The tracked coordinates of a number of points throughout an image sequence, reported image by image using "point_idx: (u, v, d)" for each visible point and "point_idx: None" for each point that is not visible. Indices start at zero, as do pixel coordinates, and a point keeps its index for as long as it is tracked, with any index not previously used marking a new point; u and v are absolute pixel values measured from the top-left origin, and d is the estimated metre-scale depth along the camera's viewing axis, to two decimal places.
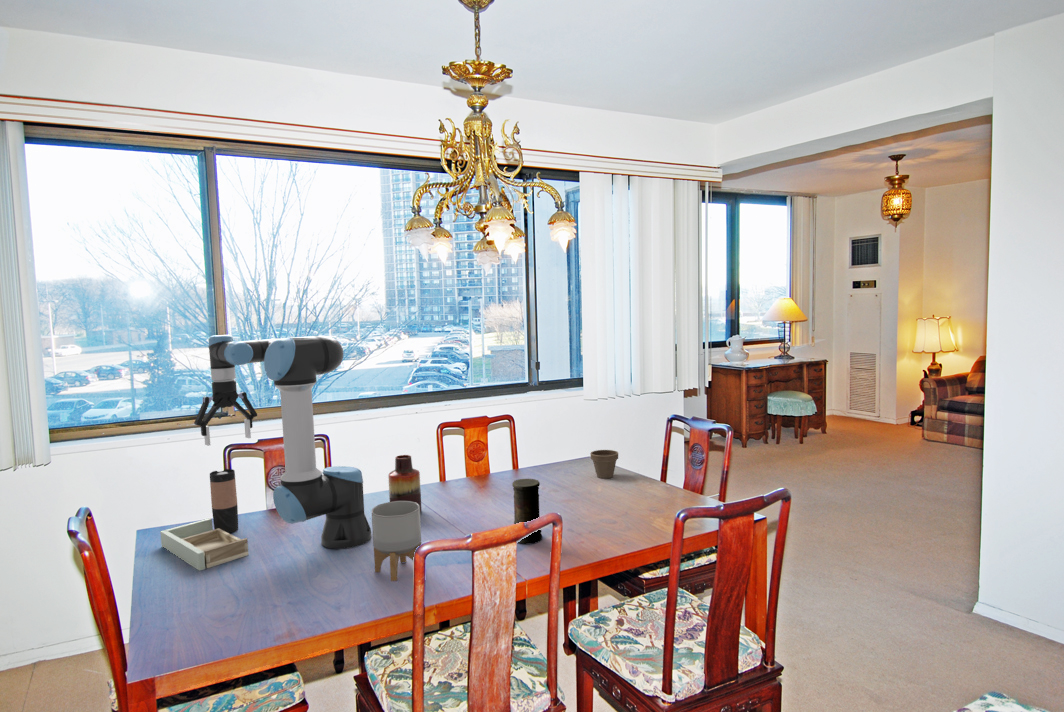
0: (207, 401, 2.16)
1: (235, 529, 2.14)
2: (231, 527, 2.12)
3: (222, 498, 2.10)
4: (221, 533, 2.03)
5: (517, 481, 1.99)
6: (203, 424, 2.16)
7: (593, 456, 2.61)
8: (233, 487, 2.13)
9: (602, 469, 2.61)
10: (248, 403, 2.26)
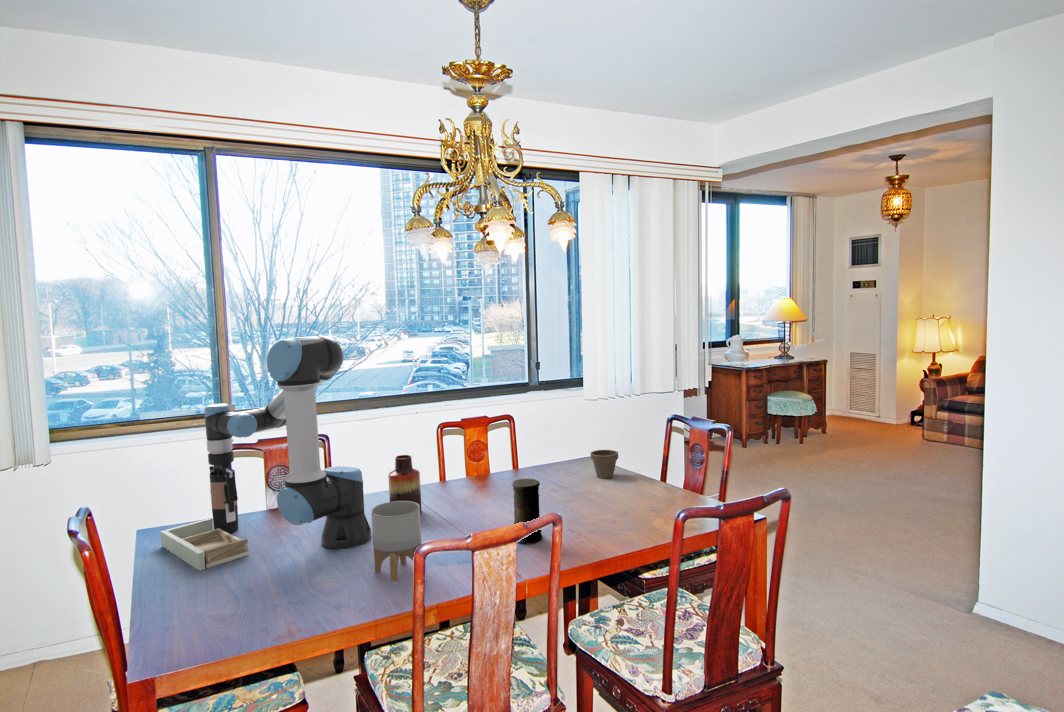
0: (210, 470, 2.16)
1: (235, 529, 2.14)
2: (231, 527, 2.12)
3: (222, 498, 2.10)
4: (221, 533, 2.03)
5: (517, 481, 1.99)
6: None
7: (593, 456, 2.61)
8: None
9: (602, 469, 2.61)
10: (227, 485, 2.08)
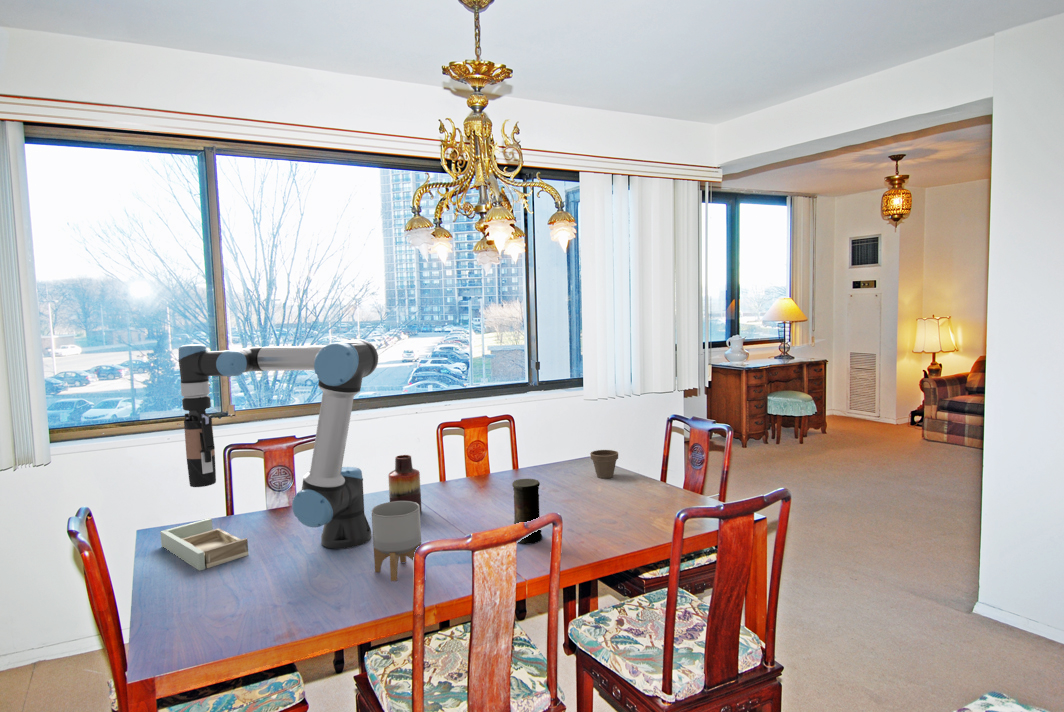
0: (186, 418, 1.98)
1: (212, 482, 1.96)
2: (207, 479, 1.94)
3: (198, 446, 1.92)
4: (221, 533, 2.03)
5: (517, 481, 1.99)
6: None
7: (593, 456, 2.61)
8: None
9: (602, 469, 2.61)
10: (202, 432, 1.90)
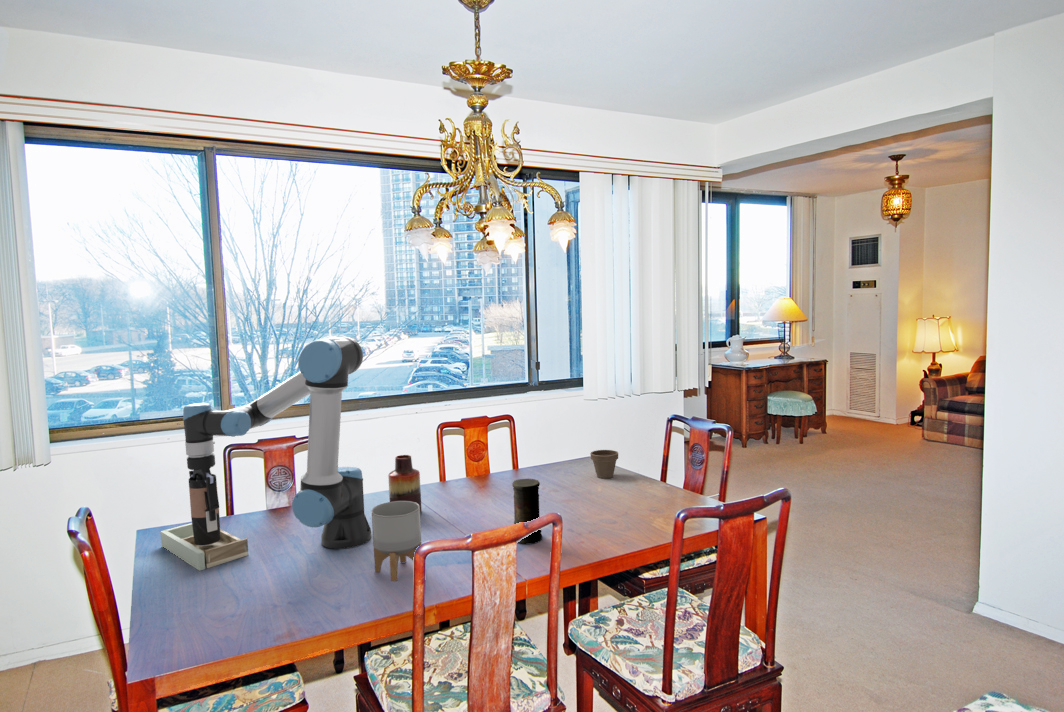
0: (190, 475, 1.99)
1: (217, 539, 1.97)
2: (212, 537, 1.96)
3: (202, 505, 1.93)
4: (221, 533, 2.03)
5: (517, 481, 1.99)
6: None
7: (593, 456, 2.61)
8: None
9: (602, 469, 2.61)
10: (207, 491, 1.92)
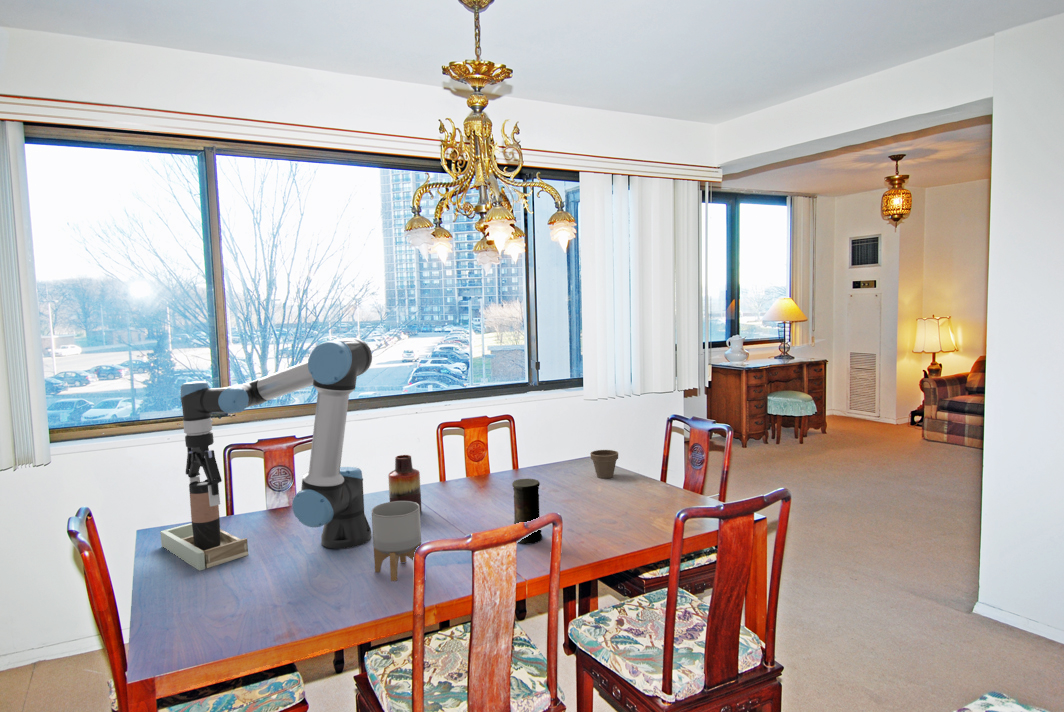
0: (188, 451, 1.99)
1: (217, 544, 1.97)
2: (212, 542, 1.96)
3: (203, 510, 1.94)
4: (221, 533, 2.03)
5: (517, 481, 1.99)
6: None
7: (593, 456, 2.61)
8: None
9: (602, 469, 2.61)
10: (207, 466, 1.90)
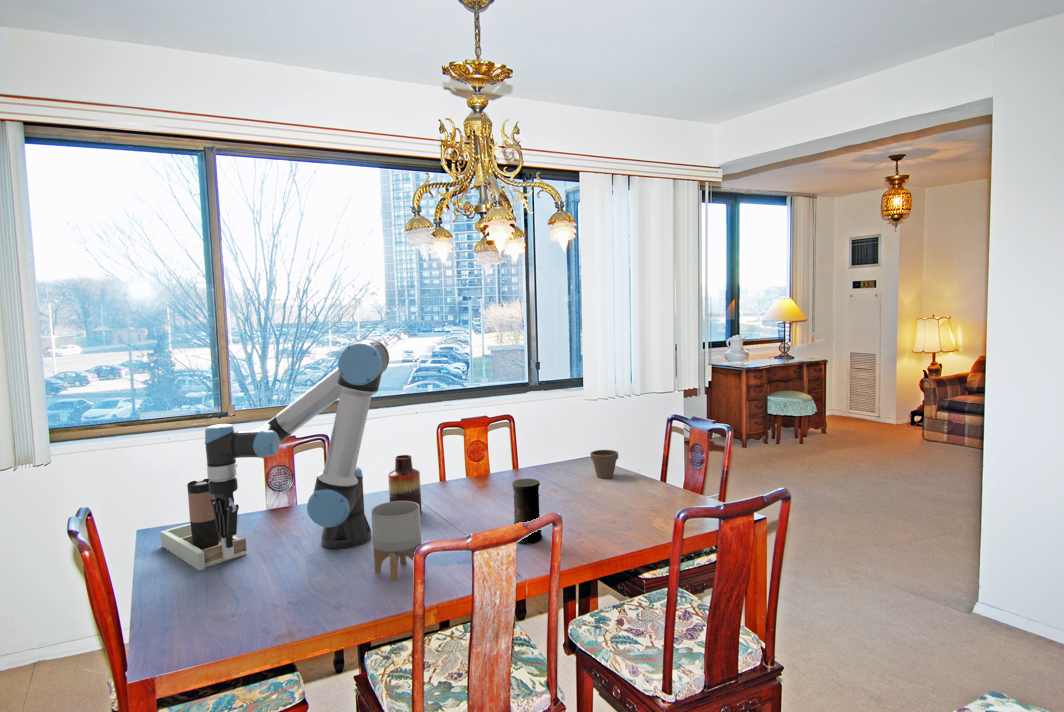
0: (212, 503, 1.89)
1: (215, 544, 1.98)
2: (211, 541, 1.96)
3: (201, 510, 1.94)
4: (219, 532, 2.04)
5: (517, 481, 1.99)
6: None
7: (593, 456, 2.61)
8: (213, 498, 1.97)
9: (602, 469, 2.61)
10: (227, 519, 1.84)
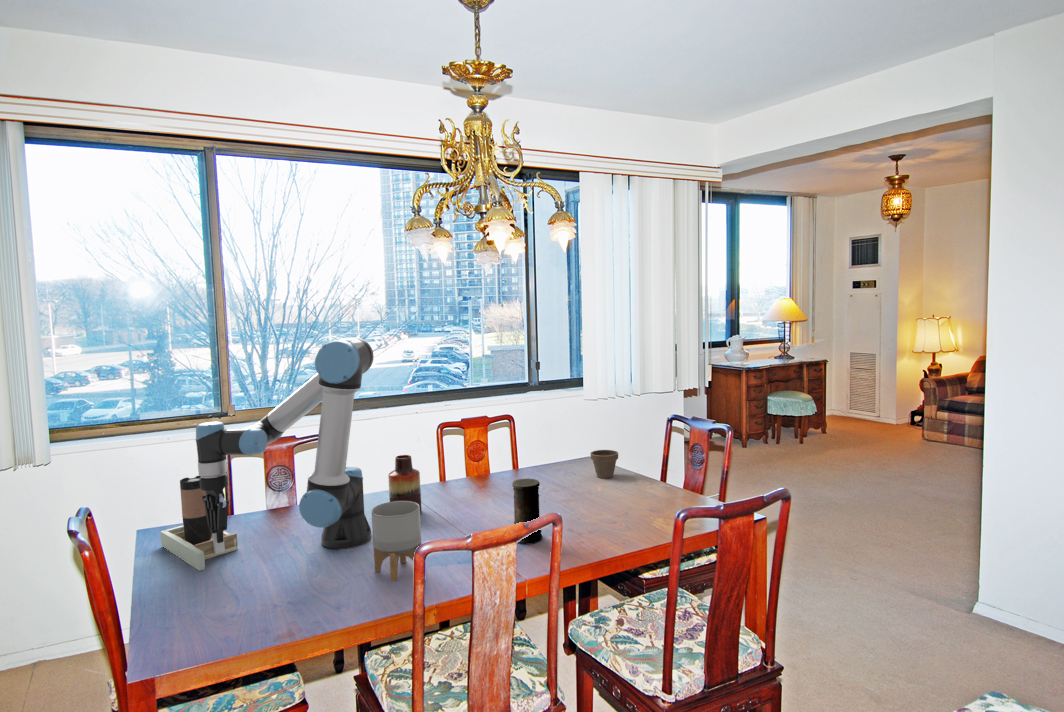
0: (204, 500, 1.94)
1: (207, 539, 2.02)
2: (203, 537, 2.00)
3: (193, 506, 1.98)
4: None
5: (517, 481, 1.99)
6: None
7: (593, 456, 2.61)
8: None
9: (602, 469, 2.61)
10: (218, 514, 1.88)
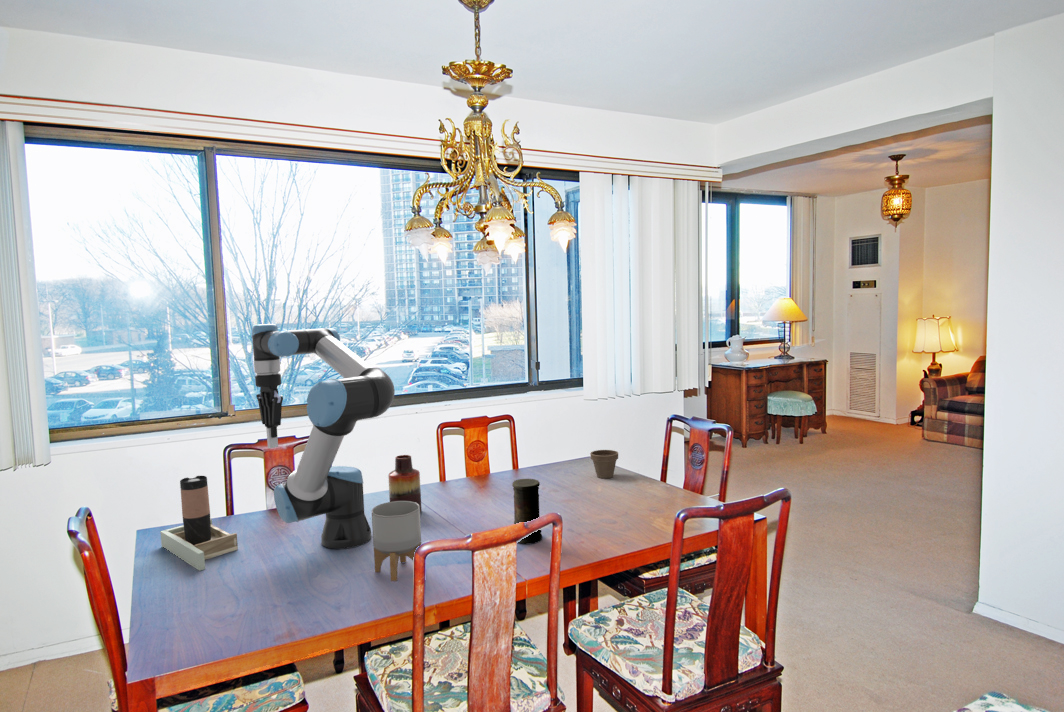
0: (258, 398, 2.06)
1: (207, 539, 2.02)
2: (203, 537, 2.00)
3: (193, 506, 1.98)
4: (212, 528, 2.08)
5: (517, 481, 1.99)
6: None
7: (593, 456, 2.61)
8: (205, 495, 2.01)
9: (602, 469, 2.61)
10: (273, 409, 2.00)
